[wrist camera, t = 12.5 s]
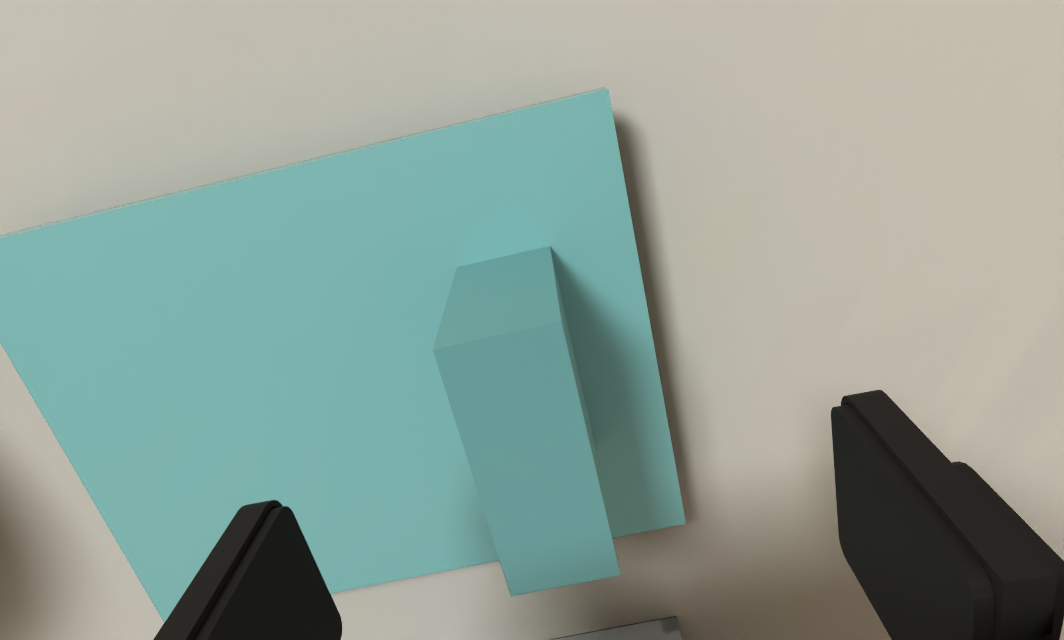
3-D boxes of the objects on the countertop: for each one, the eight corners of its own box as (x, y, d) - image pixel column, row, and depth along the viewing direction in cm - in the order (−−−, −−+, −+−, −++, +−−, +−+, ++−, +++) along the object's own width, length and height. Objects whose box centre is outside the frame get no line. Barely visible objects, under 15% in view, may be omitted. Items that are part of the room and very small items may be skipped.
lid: (598, 85, 17) (646, 105, 11) (672, 483, 22) (736, 667, 15) (4, 231, 18) (-280, 330, 12) (194, 578, 23) (65, 788, 16)
